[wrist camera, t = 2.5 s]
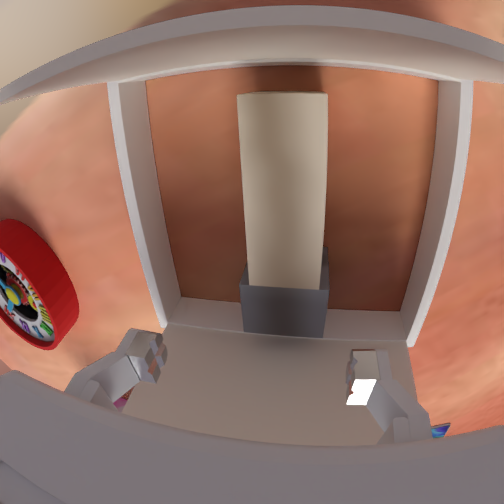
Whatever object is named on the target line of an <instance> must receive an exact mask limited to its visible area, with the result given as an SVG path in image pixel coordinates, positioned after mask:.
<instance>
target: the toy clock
mask: <svg viewBox="0 0 504 504" xmlns="http://www.w3.org/2000/svg"><path fill="white" fill-rule="evenodd" d="M78 315H79V303H78V299H77V295H76V292H75V289H74V286H73V284H72V282H71V280H70V278H69V276H68V274H67V272H66V270H65V268H64V267H63V265H62V263H61V262H60V260H59V259H58V258H57V256H56V255H55V253H54V252H53V251H52V249H51V248H50V247H49V246H48V245H47V243H46V242H45V241H44V240H43V239H42V238H41V237H40V236H39V235H38V234H37V233H36V232H35V231H33V230H32V229H31V228H30V227H28V226H27V225H25V224H23V223H22V222H20V221H17V220H14V219H5V220H2V221H1V222H0V318H1V319H2V320H3V321H4V323H5V324H6V325H7V326H8V327H9V328H10V329H11V330H12V331H14V332H15V333H16V334H17V335H18V336H20V337H21V338H22V339H24V340H25V341H26V342H28V343H30V344H31V345H33V346H35V347H37V348H40V349H43V350H53V349H54V348H56V347H57V346H58V344H59V343H60V342H61V340H62V339H63V338H64V336H65V335H66V334H67V332H68V331H69V330H70V329H71V327H72V326H73V325H74V323H75V322H76V320H77V318H78Z"/></svg>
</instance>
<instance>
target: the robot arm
mask: <svg viewBox="0 0 504 504" xmlns="http://www.w3.org/2000/svg"><path fill="white" fill-rule="evenodd" d="M162 341H163V336H162V334H160V333H155V332H150V331H145V330H139V329H134V328H131V329H129V330H128V332H127V333H126V335H125V337H124V338H123V340H122V341H121V343H120V345H119V346H118V348H117V350H116V351H115V352H111V353H110V354H108V355H106V356H105V357H103V358H101V359H99V360H98V361H96V362H94V363H93V364H91V365H89V366H87V367H86V368H84V369H82V370H81V371H79V372H77V373H75V375H74V376H73V378H72V380H71V381H70V383H69V384H68V386H67V388H66V389H65V391H64V392H63V391H60V390H58V389H56V388H53V387H51V386H49V385H47V384H44V383H42V382H40V381H38V380H36V379H34V378H32V377H30V376H28V375H26V374H24V373H22V372H20V371H17V370H12V371H10V372H7V373H5V374H3V375H1V376H0V504H504V425H497V426H493V427H489V428H485V429H481V430H476V431H472V432H467V433H462V434H457V435H452V436H446V437H440V438H434V439H433V437H432V430H431V425H430V419H429V414H428V413H427V412H426V411H425V410H424V408H423V407H422V406H421V405H420V404H419V403H418V402H417V401H416V400H415V399H414V398H413V397H412V396H411V395H410V394H409V393H408V392H407V391H406V390H405V389H404V387H403V386H402V385H401V384H400V383H399V382H398V381H397V380H393V377H392V372H391V366H390V361H389V355H388V351H387V349H352V350H351V352H350V361H348V363H347V367H346V384H347V385H348V387H347V390H346V402H347V404H352V405H366V407H367V408H368V410H369V411H370V412H371V414H372V415H373V417H374V418H375V420H376V421H377V423H378V424H379V426H380V427H381V428H382V430H383V431H384V434H383V435H382V437H381V438H380V440H379V441H378V442H377V444H376V445H357V446H314V445H293V444H279V443H268V442H258V441H249V440H242V439H234V438H228V437H221V436H215V435H210V434H204V433H199V432H194V431H189V430H184V429H180V428H175V427H171V426H167V425H163V424H159V423H155V422H151V421H147V420H144V419H140V418H137V417H133V416H130V415H126V414H123V413H120V412H118V409H117V408H116V407H115V405H114V404H113V403H114V402H115V401H116V400H117V399H119V398H120V397H121V396H122V395H124V394H125V393H126V392H127V391H129V390H130V389H131V388H132V387H134V386H135V385H136V384H137V383H139V382H140V381H145V382H150V383H155V384H156V383H157V380H158V378H159V376H160V374H161V371H160V368H161V367H162V366H164V365H165V363H166V360H167V355H168V353H167V348H166V345H165V344H163V343H162Z"/></svg>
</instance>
